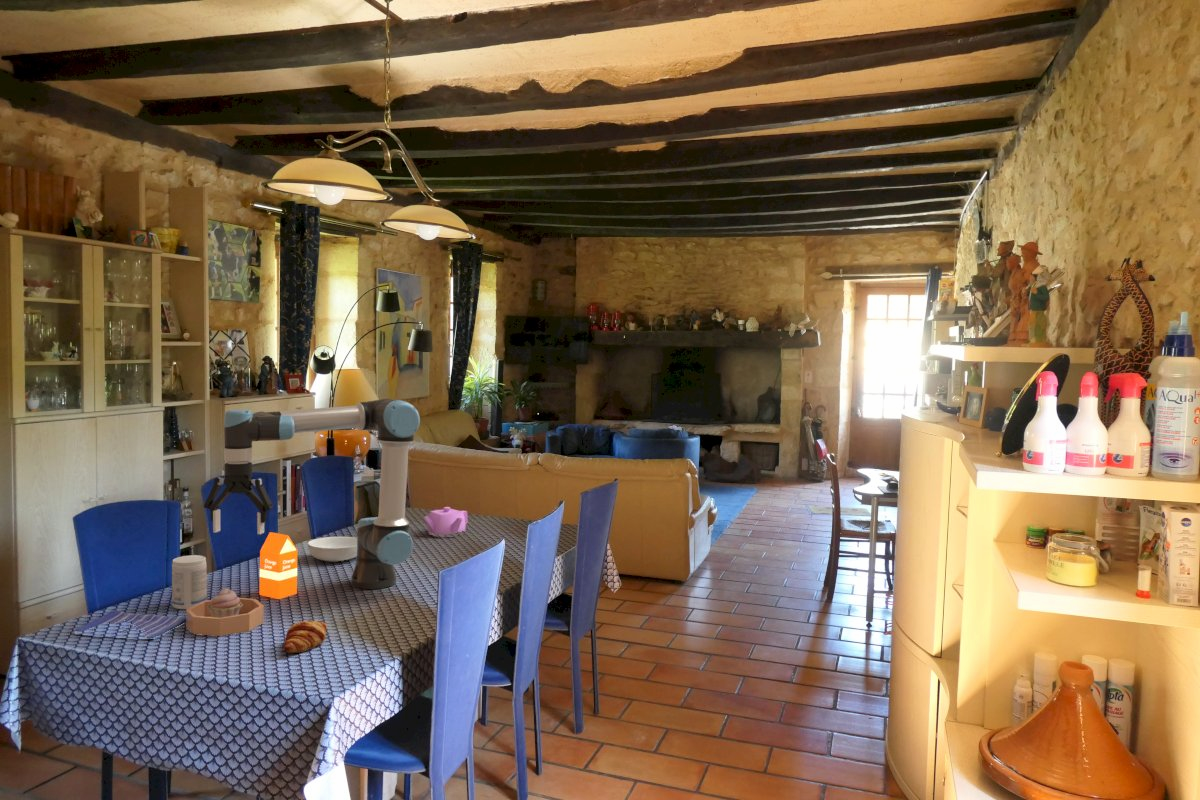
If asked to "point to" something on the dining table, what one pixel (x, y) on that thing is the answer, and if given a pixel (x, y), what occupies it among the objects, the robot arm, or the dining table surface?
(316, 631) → the croissant
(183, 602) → the supplement tub
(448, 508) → the teakettle
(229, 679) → the dining table surface
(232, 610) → the cupcake
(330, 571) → the dining table surface
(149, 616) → the dish towel
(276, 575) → the orange juice
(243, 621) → the bowl
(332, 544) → the serving bowl
